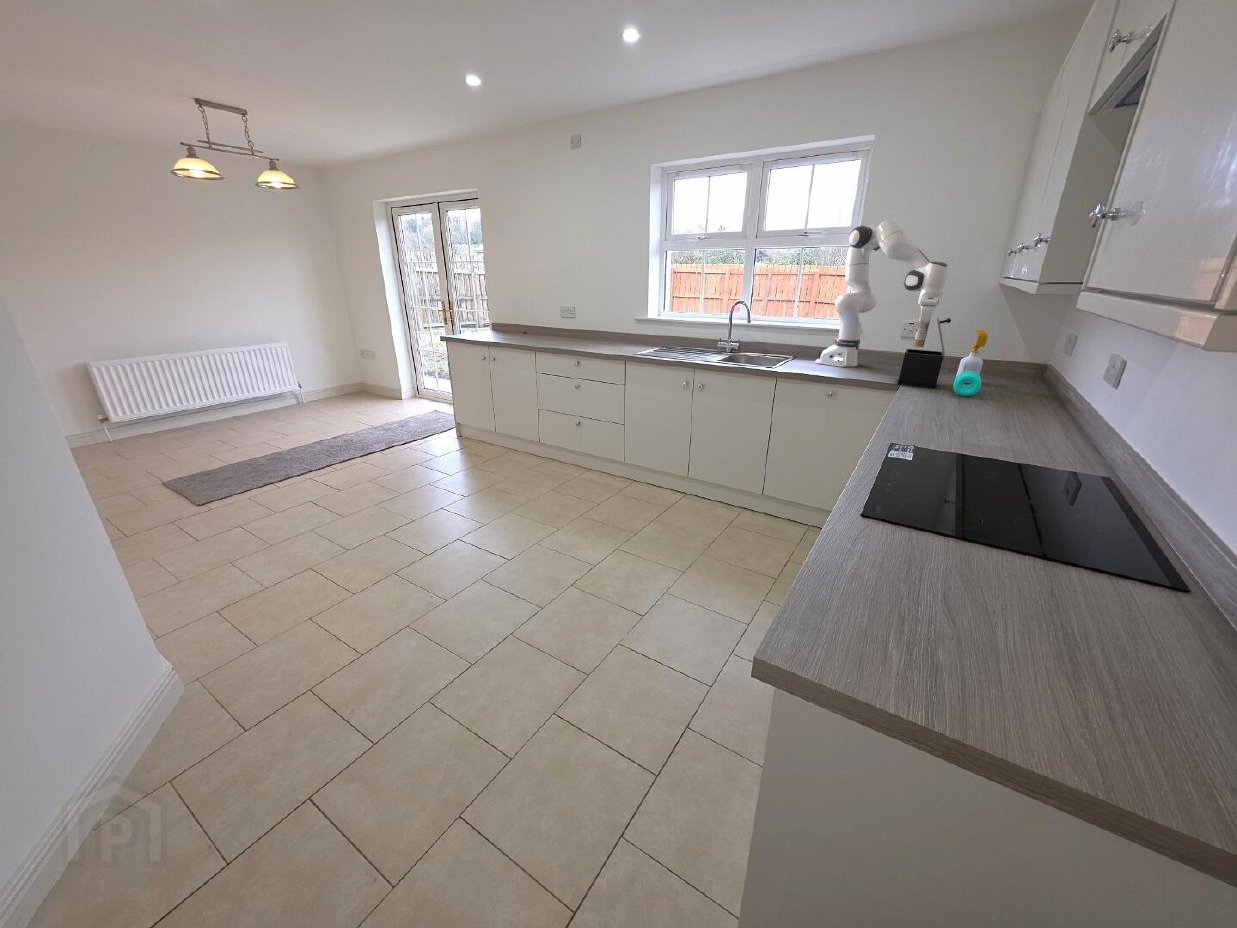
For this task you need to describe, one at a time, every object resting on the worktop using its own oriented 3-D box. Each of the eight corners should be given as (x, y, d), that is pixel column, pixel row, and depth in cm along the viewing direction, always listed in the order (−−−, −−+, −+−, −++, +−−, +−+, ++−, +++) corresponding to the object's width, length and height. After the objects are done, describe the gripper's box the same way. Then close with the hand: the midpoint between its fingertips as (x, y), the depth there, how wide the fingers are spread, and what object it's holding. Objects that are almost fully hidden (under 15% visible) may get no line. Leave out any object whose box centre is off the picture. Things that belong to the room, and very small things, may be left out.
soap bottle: (970, 379, 244) (985, 329, 234) (980, 384, 236) (996, 332, 226) (951, 379, 245) (965, 329, 235) (961, 383, 236) (976, 332, 227)
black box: (897, 384, 234) (905, 352, 228) (899, 379, 244) (906, 348, 238) (935, 388, 226) (943, 356, 220) (935, 383, 236) (943, 351, 230)
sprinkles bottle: (915, 345, 233) (922, 316, 227) (925, 346, 229) (932, 317, 224) (911, 346, 230) (918, 317, 224) (921, 347, 227) (929, 318, 221)
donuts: (977, 393, 219) (984, 371, 215) (977, 398, 211) (984, 376, 207) (951, 390, 224) (957, 369, 220) (950, 395, 216) (956, 373, 212)
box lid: (937, 319, 217) (950, 316, 214) (937, 317, 227) (949, 313, 224) (943, 355, 220) (956, 352, 218) (942, 351, 230) (955, 348, 227)
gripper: (922, 298, 231) (915, 328, 236) (921, 301, 215) (913, 333, 220) (937, 298, 228) (930, 329, 233) (937, 302, 212) (929, 334, 217)
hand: (922, 331), depth 227 cm, fingers closed on sprinkles bottle, 4 cm apart
